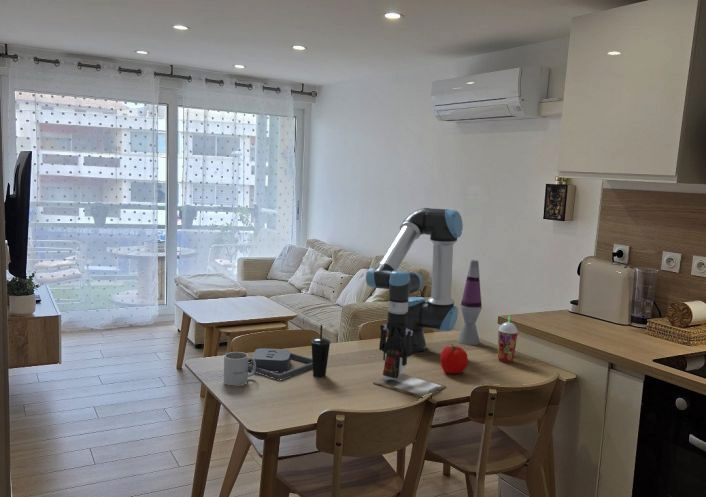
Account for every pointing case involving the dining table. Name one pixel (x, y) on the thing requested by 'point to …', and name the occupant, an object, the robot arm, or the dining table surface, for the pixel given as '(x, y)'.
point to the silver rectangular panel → (410, 385)
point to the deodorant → (392, 358)
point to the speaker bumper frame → (288, 373)
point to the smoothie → (507, 341)
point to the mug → (237, 368)
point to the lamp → (471, 306)
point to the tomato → (453, 359)
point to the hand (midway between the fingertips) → (394, 371)
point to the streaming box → (272, 359)
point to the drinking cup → (320, 355)
